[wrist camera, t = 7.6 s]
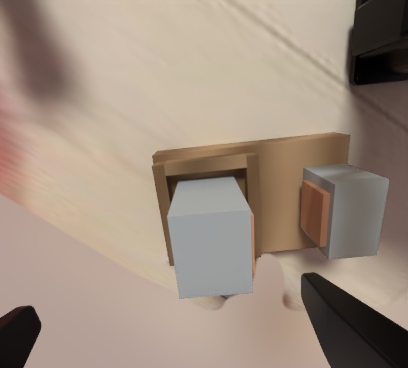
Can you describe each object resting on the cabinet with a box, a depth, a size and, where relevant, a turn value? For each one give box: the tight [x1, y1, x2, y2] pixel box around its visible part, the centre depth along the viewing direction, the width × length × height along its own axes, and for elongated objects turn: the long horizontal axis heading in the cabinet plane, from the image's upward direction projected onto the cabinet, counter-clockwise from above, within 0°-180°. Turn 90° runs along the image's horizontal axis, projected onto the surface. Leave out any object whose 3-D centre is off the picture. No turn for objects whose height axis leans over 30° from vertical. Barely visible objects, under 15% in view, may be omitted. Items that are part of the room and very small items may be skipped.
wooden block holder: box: [152, 133, 390, 266], centre depth 16 cm, size 14×9×6 cm, turn 96°
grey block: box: [167, 175, 255, 299], centre depth 14 cm, size 4×5×6 cm
